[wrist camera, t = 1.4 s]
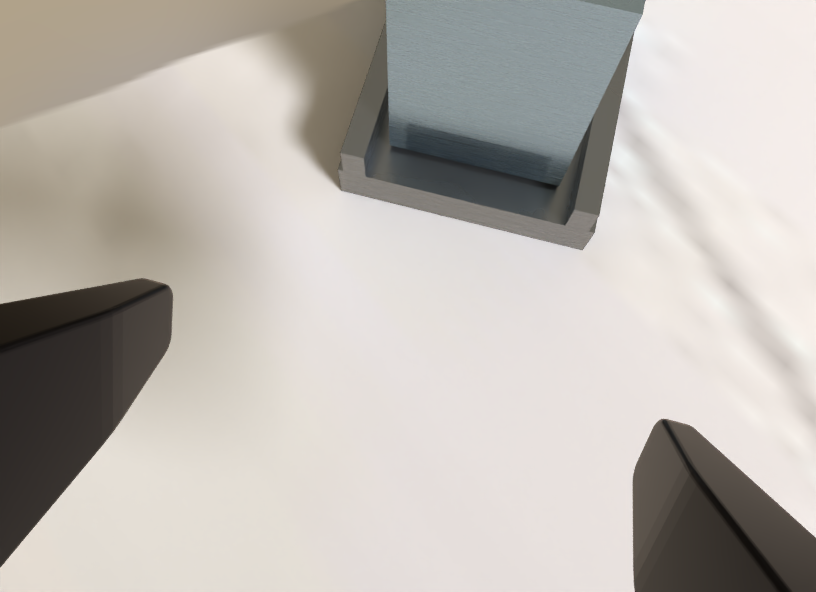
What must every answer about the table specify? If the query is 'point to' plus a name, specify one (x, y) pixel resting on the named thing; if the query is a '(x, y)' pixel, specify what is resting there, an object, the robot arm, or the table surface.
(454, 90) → the grey-blue brushed block
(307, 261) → the table surface
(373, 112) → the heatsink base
